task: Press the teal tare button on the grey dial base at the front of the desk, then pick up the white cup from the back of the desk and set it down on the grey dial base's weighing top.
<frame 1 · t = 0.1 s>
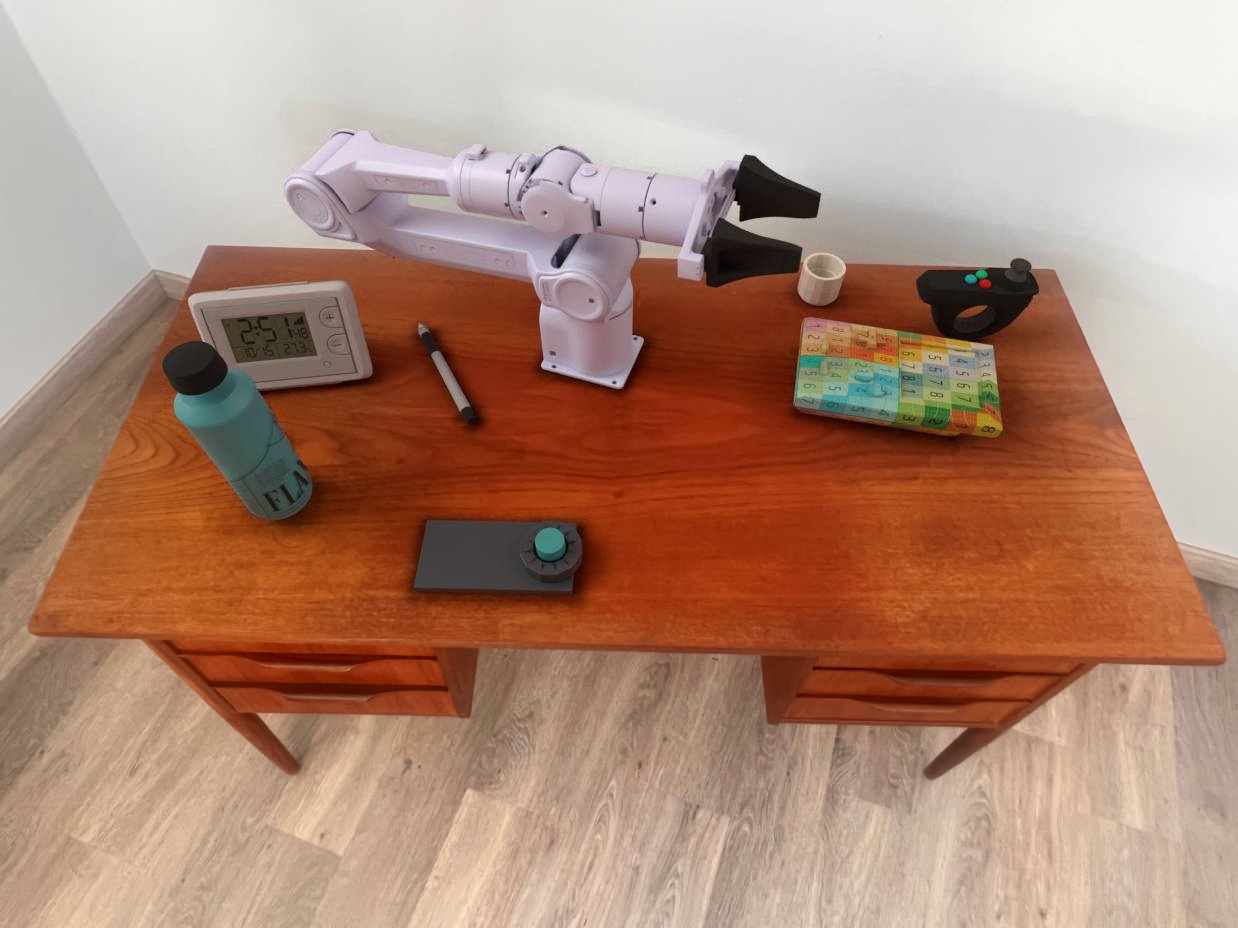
hand: (810, 232, 61), 22 cm above the table, tool horizontal, fingers open, 7 cm apart
puzzle game: (885, 396, 79), on the table
tare button: (550, 544, 65), point 3 cm above the table, slide at 0.1 cm
controller: (952, 334, 85), on the table
digital clock: (303, 373, 81), on the table
grey dial base: (498, 558, 68), on the table
pen: (446, 375, 81), on the table
beverage bottle: (286, 502, 72), on the table
white cup: (816, 294, 89), on the table
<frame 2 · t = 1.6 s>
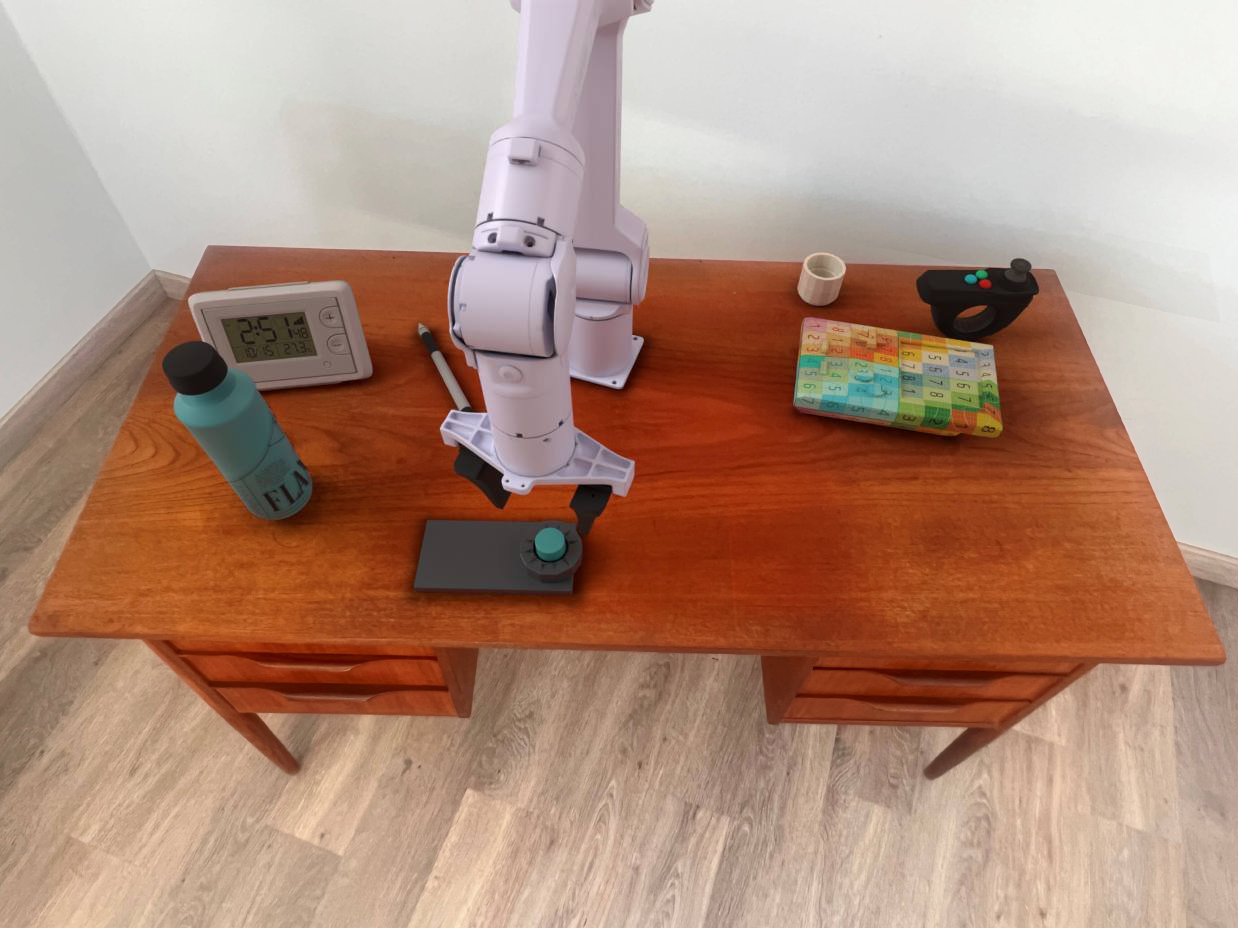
hand: (545, 511, 61), 8 cm above the table, tool pointing down, fingers open, 7 cm apart
nothing on the table moved.
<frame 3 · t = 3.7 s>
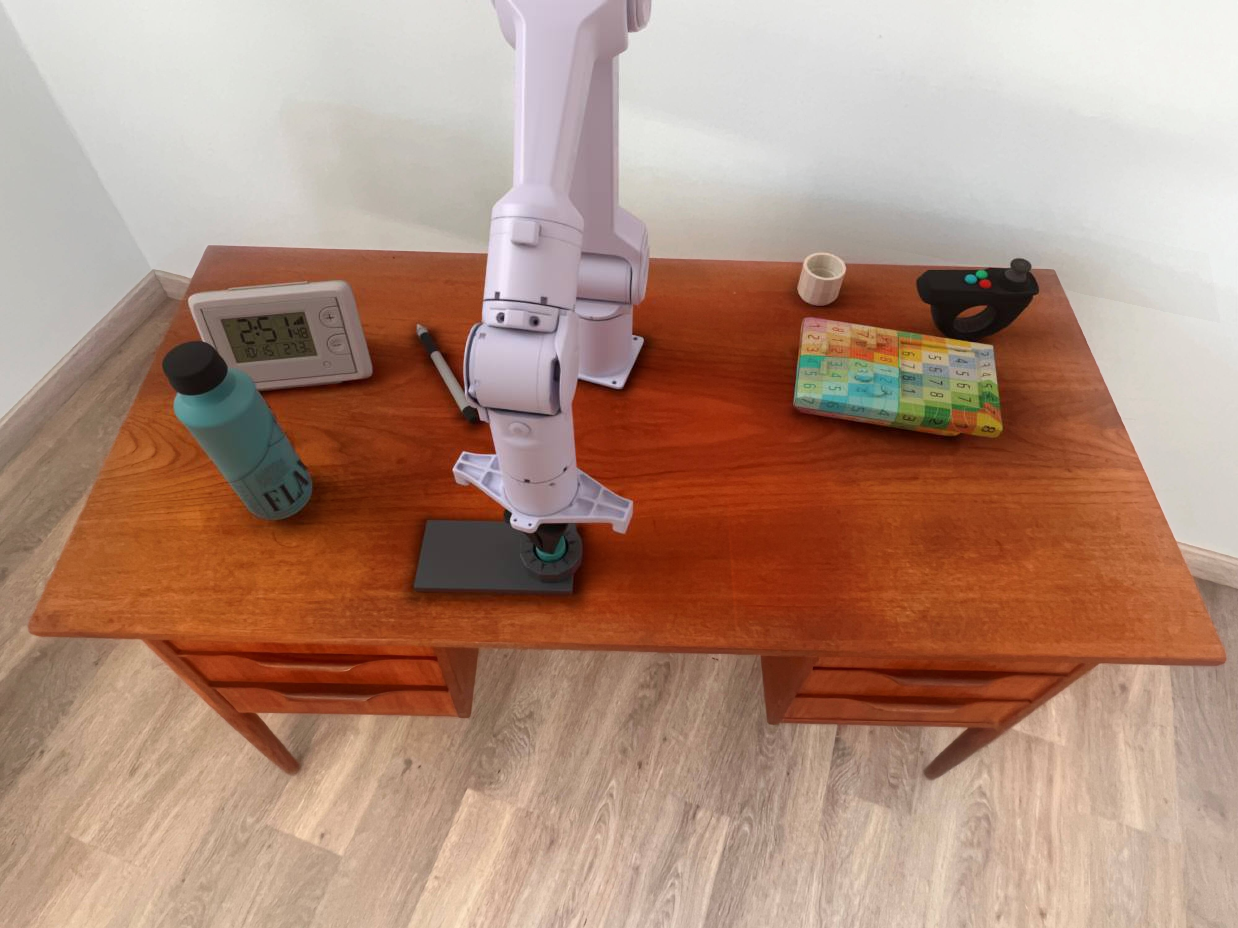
hand: (550, 543, 65), 3 cm above the table, tool pointing down, fingers closed, pressing on tare button
tare button: (550, 547, 66), point 2 cm above the table, slide at -0.3 cm, touching gripper
everything else where it was.
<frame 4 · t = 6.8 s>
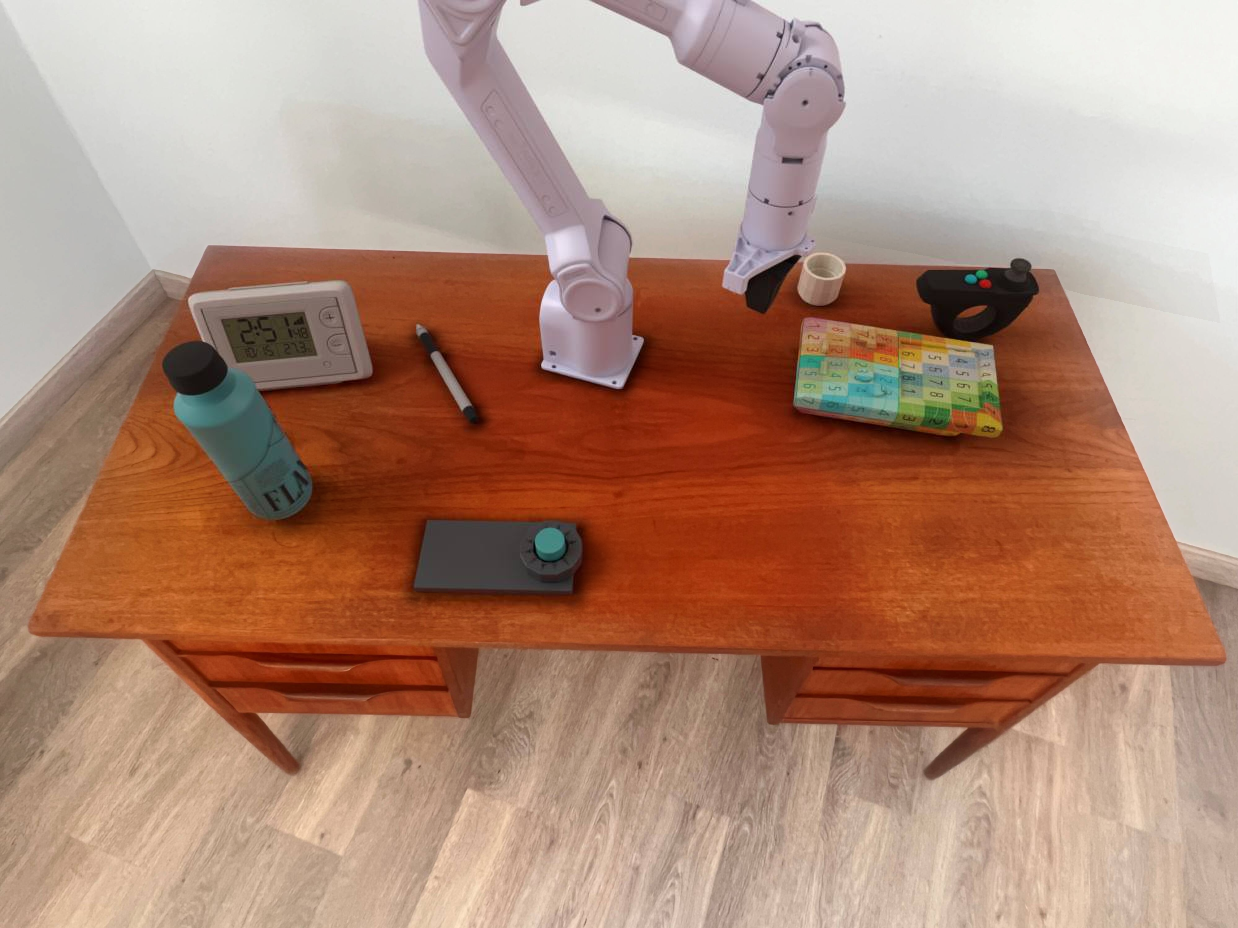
hand: (758, 306, 75), 9 cm above the table, tool pointing down, fingers closed
tare button: (550, 544, 65), point 3 cm above the table, slide at 0.1 cm
everything else where it was.
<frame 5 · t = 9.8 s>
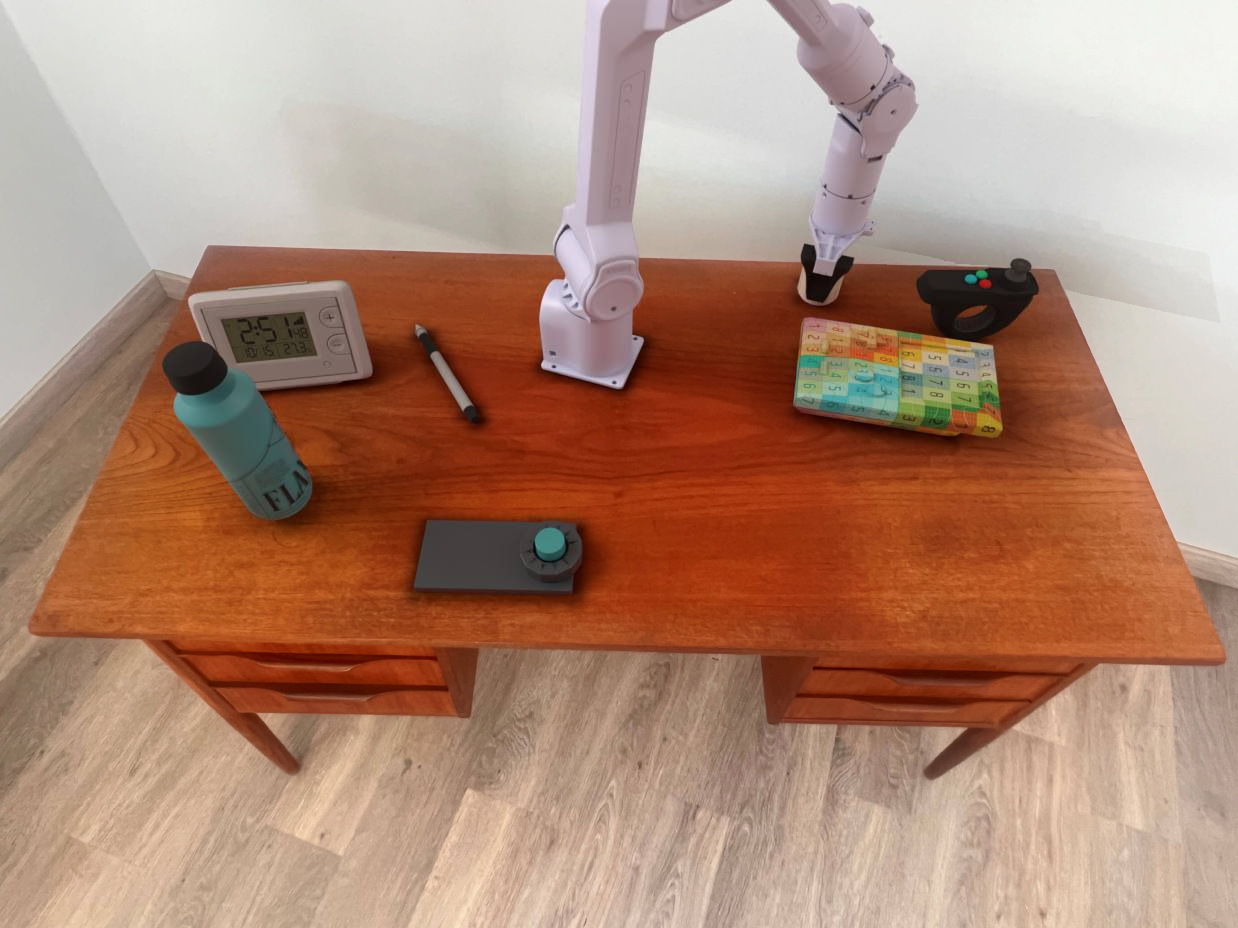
hand: (819, 285, 87), 1 cm above the table, tool pointing down, fingers closed on white cup, 5 cm apart
white cup: (816, 293, 89), on the table, touching gripper
everything else where it was.
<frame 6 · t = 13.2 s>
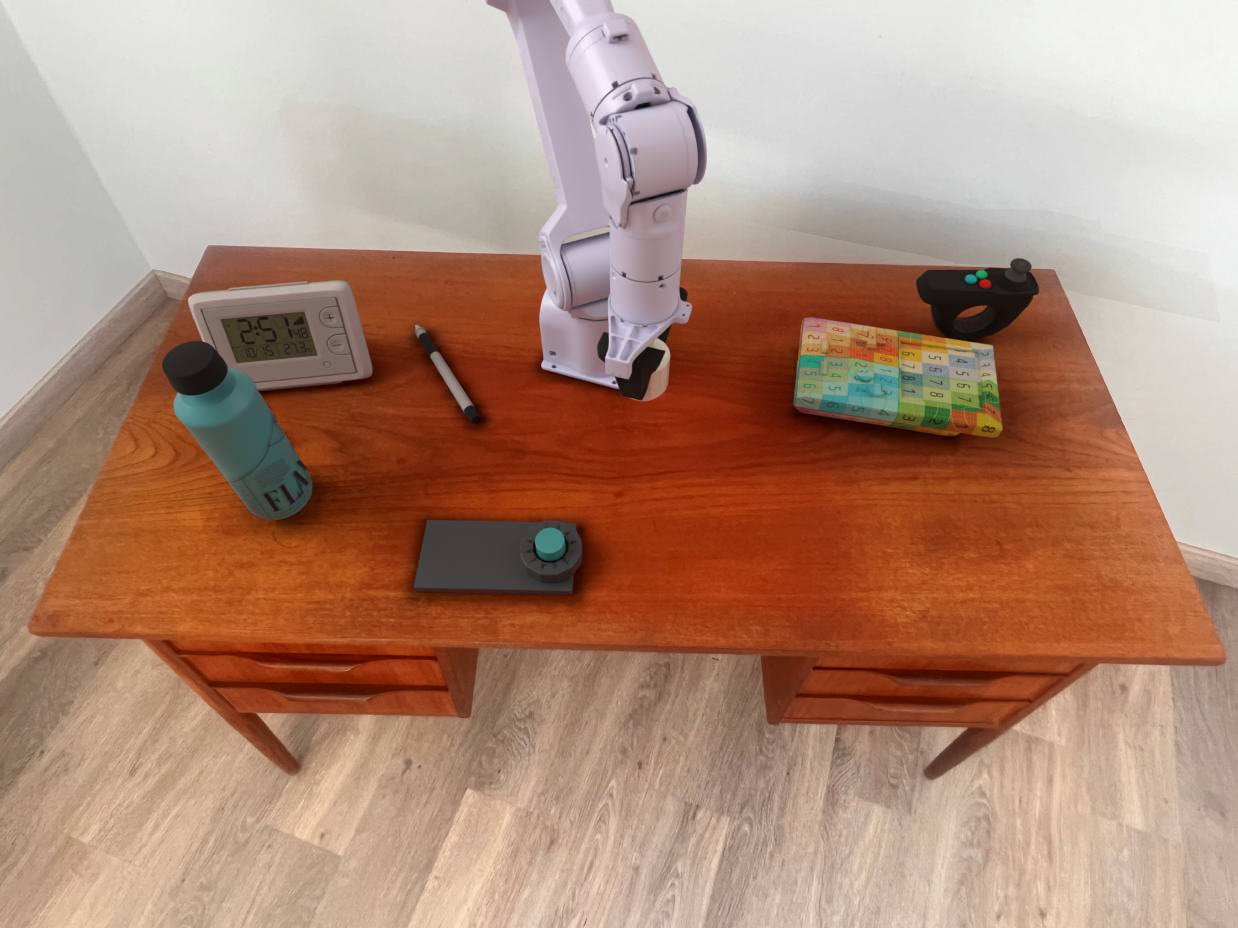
hand: (641, 375, 70), 8 cm above the table, tool pointing down, fingers closed on white cup, 5 cm apart
white cup: (642, 384, 71), point 7 cm above the table, touching gripper
everything else where it was.
when the fingers open (2 cm above the table, at t = 16.8 s): white cup stays where it is, resting on grey dial base.
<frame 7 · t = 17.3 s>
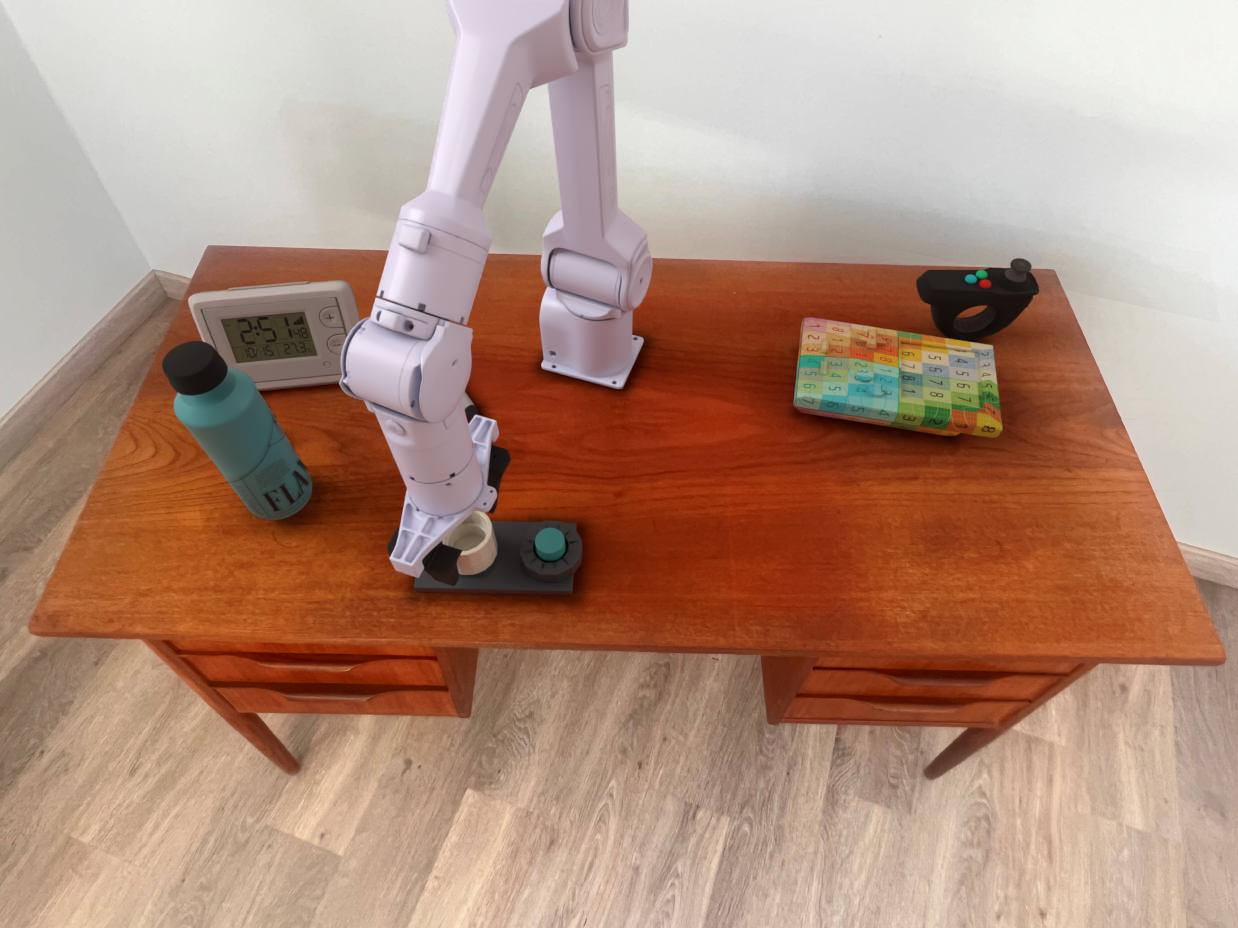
hand: (466, 542, 65), 3 cm above the table, tool pointing down, fingers open, 7 cm apart
white cup: (471, 553, 67), point 1 cm above the table, touching grey dial base
everything else where it was.
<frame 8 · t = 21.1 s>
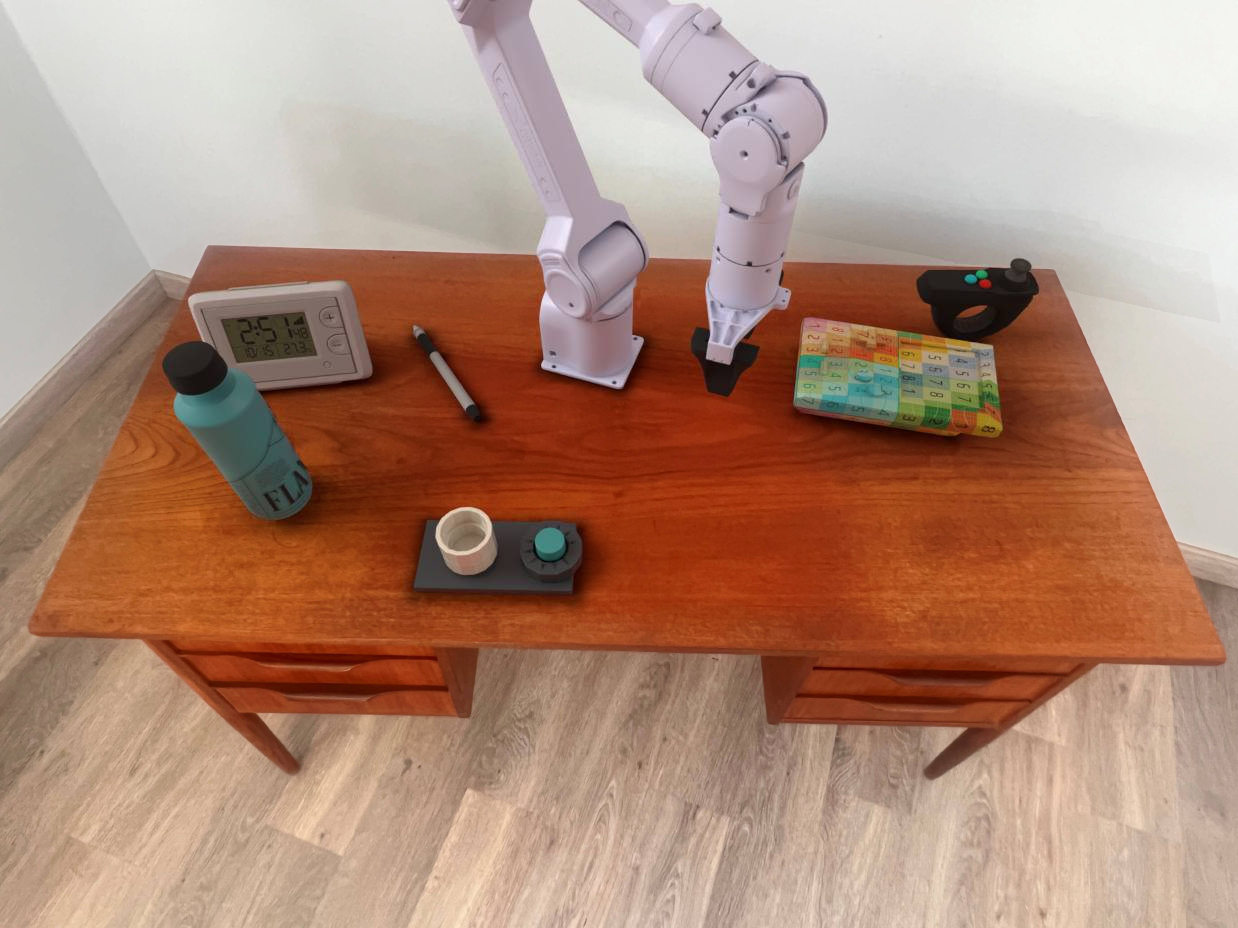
hand: (729, 362, 69), 9 cm above the table, tool pointing down, fingers open, 7 cm apart
nothing on the table moved.
at the end: tare button pushed in 1.0 cm at the most during the clip, back to where it started at the end; white cup inside the target area on the grey dial base (0.1 cm from its centre), point 0.9 cm above the grey dial base's base; white cup touching grey dial base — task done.
